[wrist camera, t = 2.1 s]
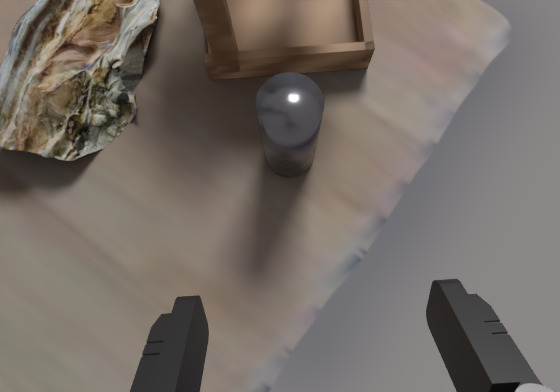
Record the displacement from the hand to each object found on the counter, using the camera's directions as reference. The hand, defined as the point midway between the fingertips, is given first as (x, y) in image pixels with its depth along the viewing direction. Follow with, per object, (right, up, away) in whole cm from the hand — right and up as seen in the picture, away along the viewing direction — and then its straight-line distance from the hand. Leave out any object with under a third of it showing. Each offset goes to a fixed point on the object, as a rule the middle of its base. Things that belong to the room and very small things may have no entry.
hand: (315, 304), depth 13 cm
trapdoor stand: (-1, +22, +23) cm, 32 cm away
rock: (-20, +17, +23) cm, 35 cm away
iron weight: (0, +8, +20) cm, 22 cm away
